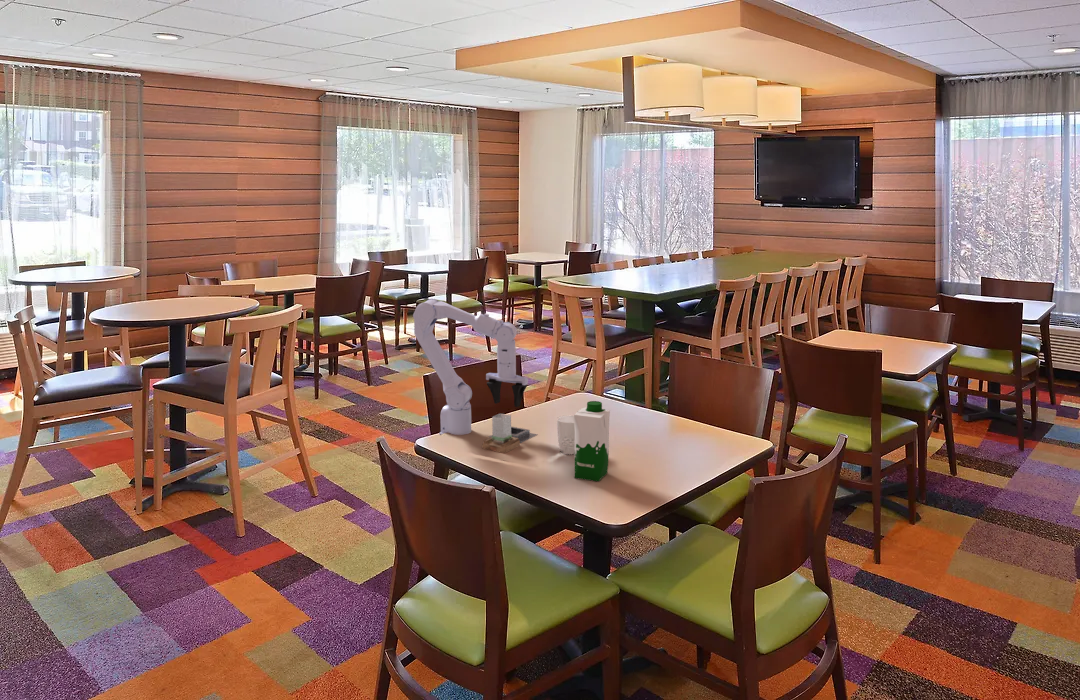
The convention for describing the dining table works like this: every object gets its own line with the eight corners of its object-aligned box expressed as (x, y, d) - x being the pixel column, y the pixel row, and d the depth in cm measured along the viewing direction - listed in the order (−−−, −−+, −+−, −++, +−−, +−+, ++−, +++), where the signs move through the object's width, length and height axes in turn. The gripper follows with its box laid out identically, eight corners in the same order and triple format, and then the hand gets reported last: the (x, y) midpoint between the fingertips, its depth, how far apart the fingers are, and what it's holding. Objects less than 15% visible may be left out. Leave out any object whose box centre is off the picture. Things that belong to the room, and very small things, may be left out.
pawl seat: (482, 451, 234) (482, 441, 233) (497, 444, 241) (497, 433, 240) (504, 456, 230) (504, 445, 229) (519, 448, 237) (519, 438, 236)
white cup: (581, 456, 230) (581, 423, 228) (554, 454, 231) (554, 421, 229) (585, 447, 237) (585, 415, 235) (559, 446, 239) (559, 414, 237)
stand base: (488, 439, 245) (488, 432, 244) (506, 431, 253) (506, 424, 253) (520, 446, 239) (520, 438, 238) (537, 437, 247) (537, 429, 247)
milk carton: (611, 472, 216) (612, 402, 212) (600, 483, 208) (601, 411, 204) (581, 468, 220) (582, 399, 216) (569, 478, 212) (570, 407, 208)
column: (492, 442, 234) (491, 416, 233) (500, 438, 238) (499, 413, 236) (503, 444, 232) (503, 418, 231) (511, 440, 236) (511, 415, 234)
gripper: (533, 362, 243) (533, 404, 246) (494, 357, 251) (495, 398, 253) (520, 366, 237) (521, 409, 240) (481, 361, 245) (482, 403, 247)
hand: (507, 404), depth 246 cm, fingers open, 7 cm apart
